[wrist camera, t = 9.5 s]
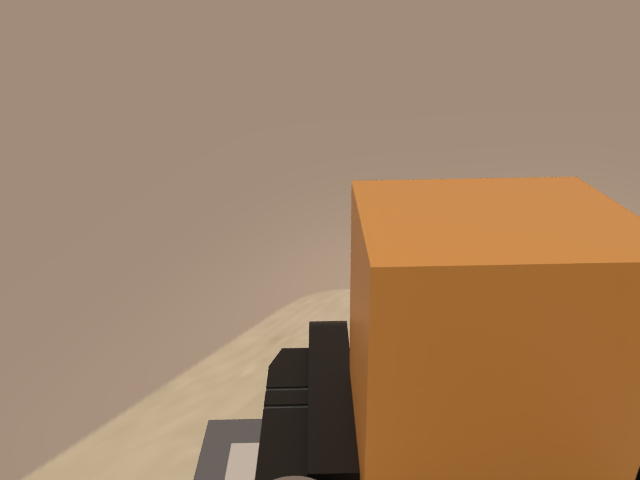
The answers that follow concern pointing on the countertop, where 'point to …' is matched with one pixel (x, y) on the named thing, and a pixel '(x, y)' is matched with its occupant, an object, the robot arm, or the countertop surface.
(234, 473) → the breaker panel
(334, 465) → the robot arm
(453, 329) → the handle
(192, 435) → the countertop surface
